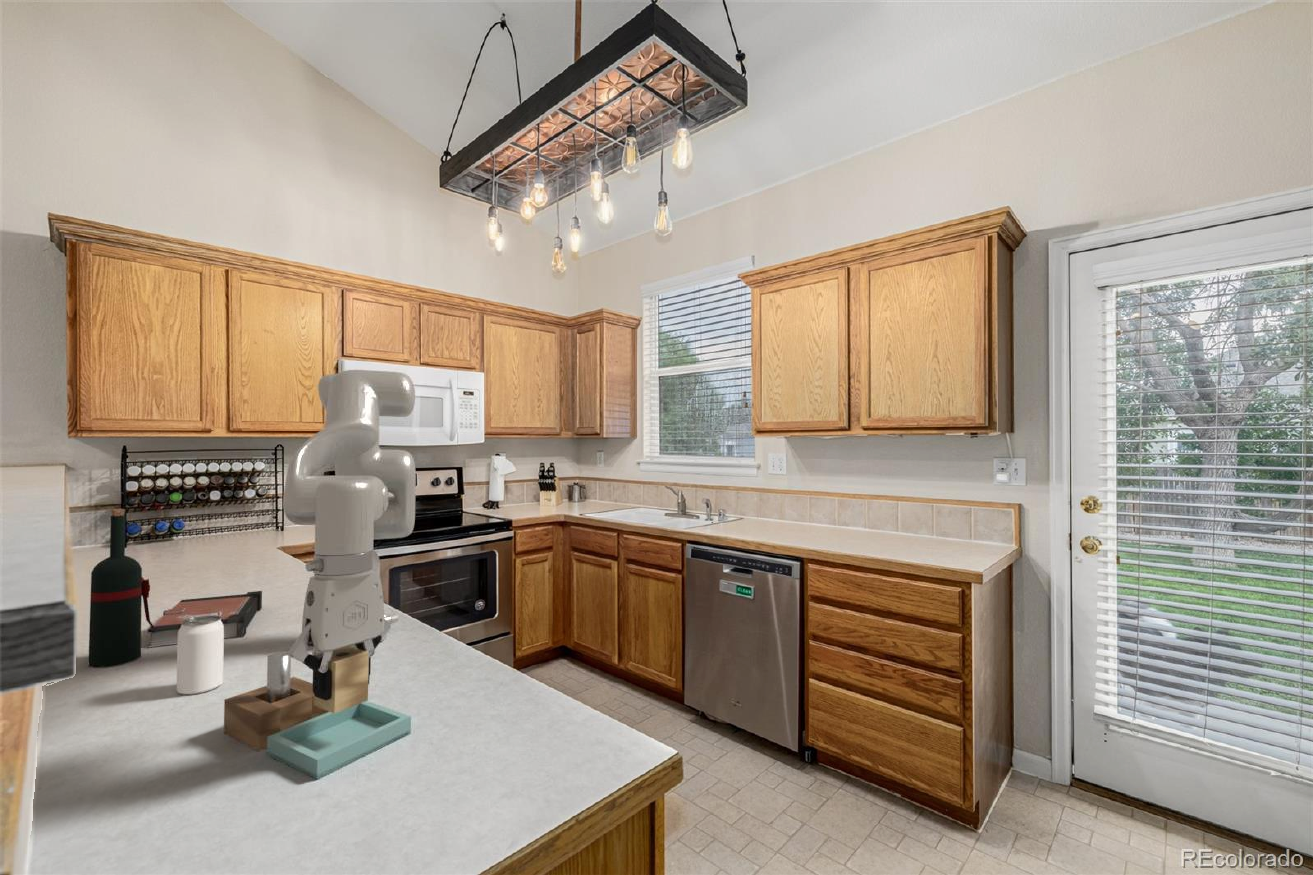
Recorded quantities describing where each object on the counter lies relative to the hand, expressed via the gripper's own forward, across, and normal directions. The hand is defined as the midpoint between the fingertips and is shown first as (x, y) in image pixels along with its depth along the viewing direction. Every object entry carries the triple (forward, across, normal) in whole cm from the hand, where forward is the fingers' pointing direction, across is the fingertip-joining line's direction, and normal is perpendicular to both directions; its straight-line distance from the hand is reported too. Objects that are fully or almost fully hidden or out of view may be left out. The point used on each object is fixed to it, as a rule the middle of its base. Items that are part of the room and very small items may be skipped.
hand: (342, 689), depth 84 cm
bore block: (+8, -2, +13) cm, 15 cm away
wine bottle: (+8, -2, +70) cm, 71 cm away
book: (+8, +17, +80) cm, 82 cm away
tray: (+8, 0, 0) cm, 8 cm away
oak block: (+2, 0, 0) cm, 2 cm away
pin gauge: (+7, -2, +13) cm, 15 cm away
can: (+8, -1, +40) cm, 41 cm away
